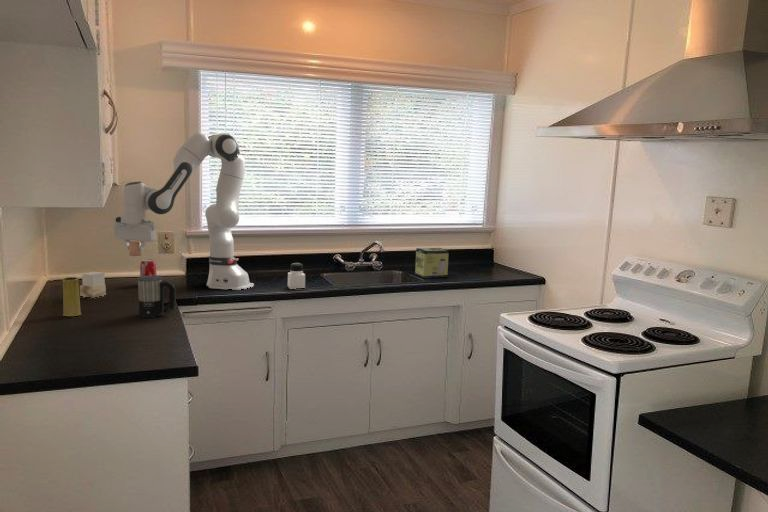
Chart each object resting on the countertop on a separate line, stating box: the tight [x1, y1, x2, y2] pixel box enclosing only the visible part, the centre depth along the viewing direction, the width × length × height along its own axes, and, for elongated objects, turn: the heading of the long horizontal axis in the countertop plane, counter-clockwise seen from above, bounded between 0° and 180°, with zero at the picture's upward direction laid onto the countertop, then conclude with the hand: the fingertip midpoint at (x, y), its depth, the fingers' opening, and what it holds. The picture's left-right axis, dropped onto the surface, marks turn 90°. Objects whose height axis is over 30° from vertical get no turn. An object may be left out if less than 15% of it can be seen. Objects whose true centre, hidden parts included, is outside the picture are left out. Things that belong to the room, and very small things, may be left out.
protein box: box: [414, 247, 450, 278], centre depth 330 cm, size 10×16×16 cm
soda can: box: [139, 258, 157, 277], centre depth 279 cm, size 7×7×12 cm
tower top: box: [81, 271, 106, 287], centre depth 253 cm, size 6×6×5 cm
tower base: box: [79, 283, 107, 299], centre depth 254 cm, size 7×7×5 cm
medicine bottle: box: [287, 262, 306, 290], centre depth 286 cm, size 7×7×12 cm
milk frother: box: [136, 275, 177, 318], centre depth 231 cm, size 14×16×15 cm
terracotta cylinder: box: [128, 240, 143, 257], centre depth 260 cm, size 5×5×6 cm
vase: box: [62, 276, 82, 317], centre depth 221 cm, size 6×6×14 cm
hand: (135, 250), depth 261 cm, fingers closed on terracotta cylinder, 5 cm apart
